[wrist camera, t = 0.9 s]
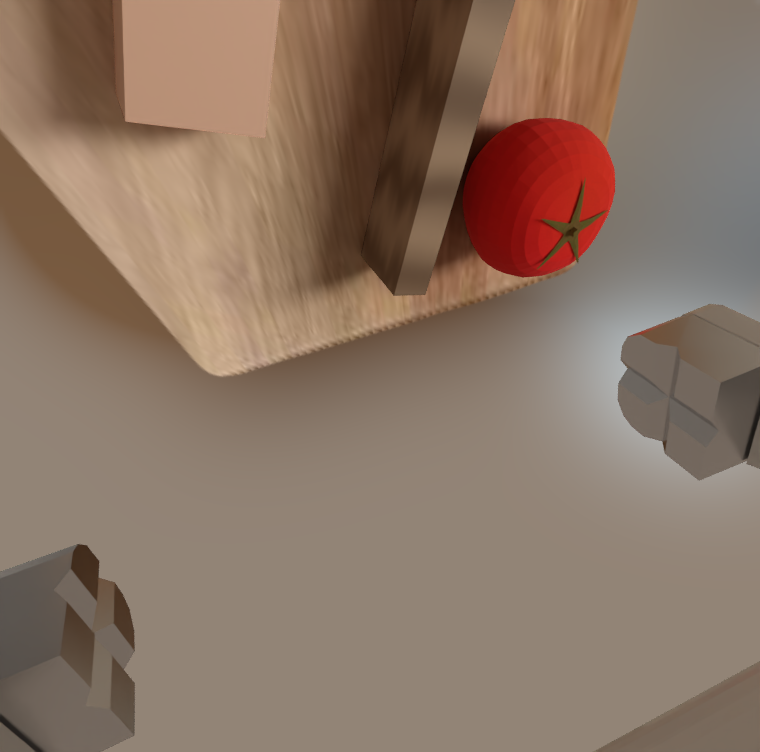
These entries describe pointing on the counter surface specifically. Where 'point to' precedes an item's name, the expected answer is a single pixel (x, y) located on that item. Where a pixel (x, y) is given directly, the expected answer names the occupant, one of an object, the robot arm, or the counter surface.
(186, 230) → the counter surface
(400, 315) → the counter surface
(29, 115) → the counter surface
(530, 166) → the tomato
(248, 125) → the terracotta block
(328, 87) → the counter surface
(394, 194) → the walnut board
